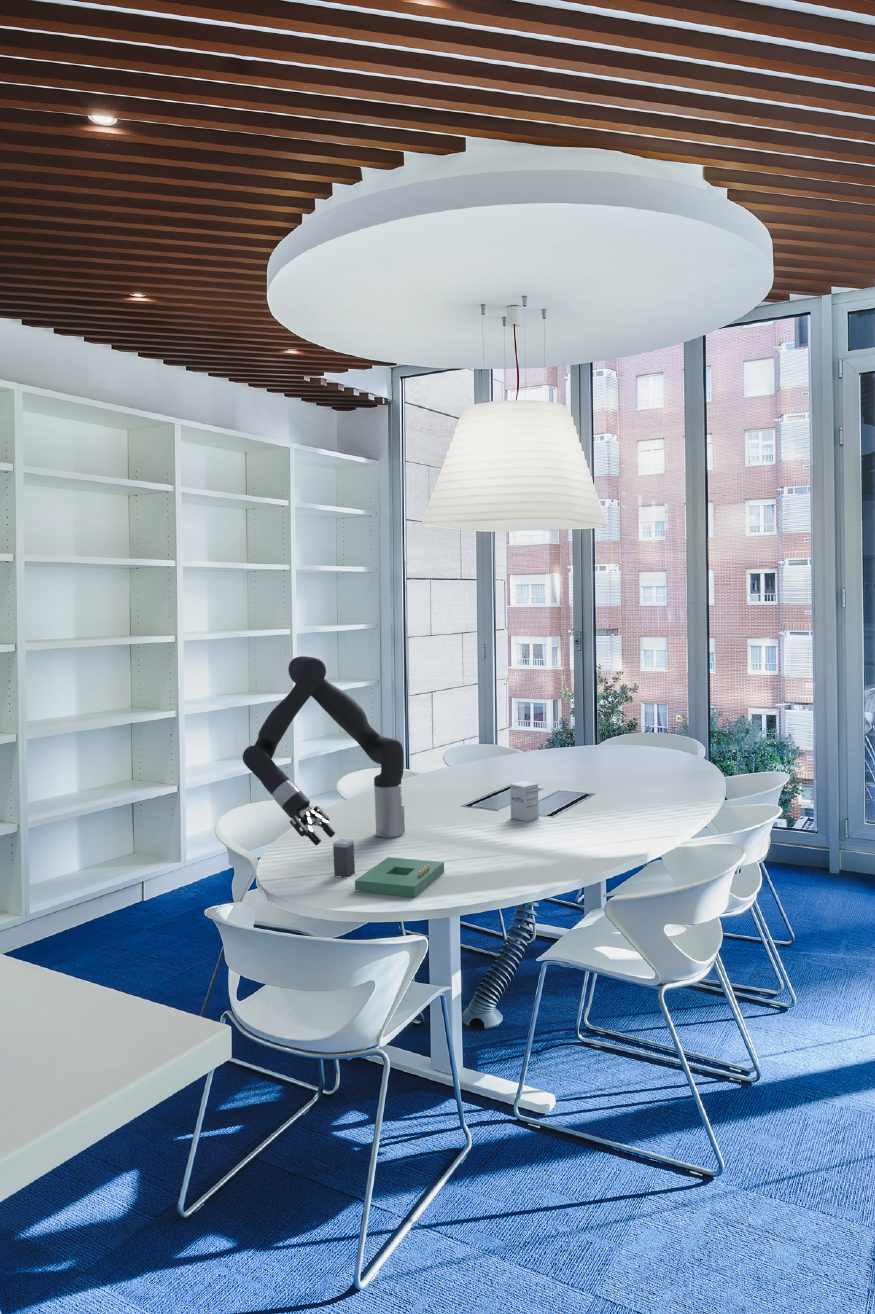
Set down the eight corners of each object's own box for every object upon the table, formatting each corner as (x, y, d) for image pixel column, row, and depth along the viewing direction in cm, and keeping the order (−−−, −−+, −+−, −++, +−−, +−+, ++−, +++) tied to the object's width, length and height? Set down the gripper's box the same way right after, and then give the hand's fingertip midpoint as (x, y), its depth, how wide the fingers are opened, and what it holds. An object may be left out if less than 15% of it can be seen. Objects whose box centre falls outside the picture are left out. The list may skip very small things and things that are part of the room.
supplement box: (510, 818, 315) (509, 783, 314) (524, 814, 320) (523, 780, 319) (525, 822, 309) (524, 786, 308) (539, 817, 314) (538, 783, 313)
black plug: (341, 871, 260) (340, 838, 260) (354, 873, 259) (353, 839, 258) (334, 876, 256) (333, 842, 255) (347, 877, 255) (346, 844, 254)
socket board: (388, 866, 263) (387, 852, 263) (444, 872, 257) (443, 857, 256) (355, 890, 243) (354, 875, 243) (414, 897, 236) (414, 880, 236)
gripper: (285, 795, 254) (321, 837, 251) (310, 785, 268) (345, 824, 264) (270, 812, 257) (306, 854, 253) (295, 801, 270) (330, 840, 266)
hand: (326, 839), depth 259 cm, fingers open, 8 cm apart
